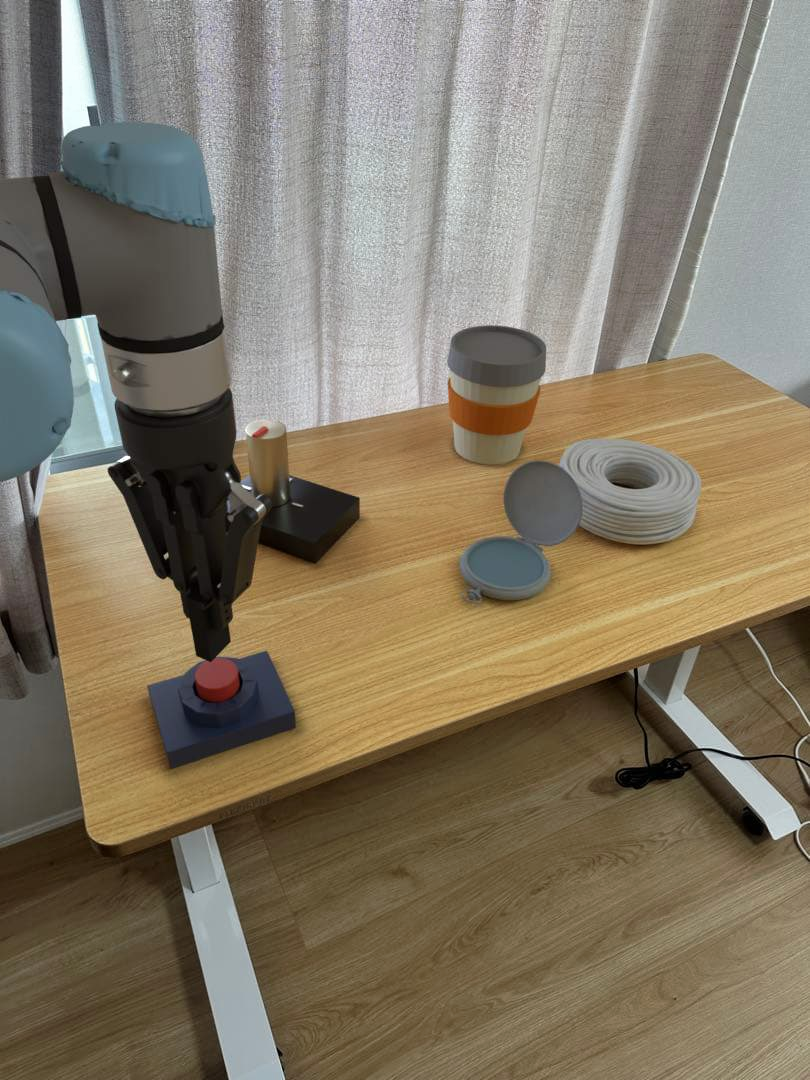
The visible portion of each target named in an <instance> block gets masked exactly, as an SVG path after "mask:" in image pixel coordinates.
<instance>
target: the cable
mask: <svg viewBox="0 0 810 1080" xmlns="http://www.w3.org/2000/svg"><path fill="white" fill-rule="evenodd" d="M558 466H560V467H561V468H563V469H564V470H566V471H567V472H568V473H569V474H570V475H571V476H572V478H573V479H574V481H575V482H576V484H577V486H578V488H579V490H580V493H581V497H582V504H583V509H582V517H581V520H580V523H579V526H578V527H581V528H583V529H584V530H586V531H588V532H590V533H592V534H594V535H596V536H599V537H601V538H603V539H607V540H610V541H613V542H617V543H623V544H629V545H655V544H656V545H657V544H661V543H667V542H670V541H673V540H675V539H677V538H679V537H680V536H682V535H683V534H684V533H686V532H687V531H688V530H689V529H690V528H691V526H692V525H693V523H694V521H695V519H696V514H697V510H698V509H697V508H698V503H699V498H700V493H701V491H702V480H701V477H700V474H699V473H698V471H697V470H696V468H694V466H693V465H692V464H690V463H689V462H687V461H686V460H685V459H683V458H681V457H680V456H678V455H676V454H674V453H672V452H669V451H667V450H665V449H662V448H660V447H657V446H654V445H651V444H648V443H644V442H639V441H635V440H630V439H629V440H628V439H622V438H603V437H602V438H600V437H599V438H588V439H582V440H581V439H580V440H578V441H576V442H573V443H571V444H570V445H568V447H567V448H566V449H565V450H564V451H563V453H562V456H561V458H560V461H559V464H558ZM613 483H614V484H613ZM615 484H619V485H625V486H628V487H632V488H628V487H627V488H626V487H623V486H618V485H615Z"/></svg>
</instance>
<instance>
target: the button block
mask: <svg viewBox="0 0 810 1080" xmlns="http://www.w3.org/2000/svg"><path fill="white" fill-rule="evenodd" d="M216 658H223V659H228V660H230V661H232V662H233V663H234V664H235V665H236V666H237V669H238V676H239V683H240V685H239V689H238V691H237V693H236V694H235V695H234V696H233V697H232V698H230V699H229V700H226V701H223V702H219V703H212V702H207V701H205V700H203V699H202V698H201V697H200V696H199V695H198V692H197V687H196V682H195V672H196V670H197V669H198V667H199V666H200V665H201V664H203V663H204V662H206V661H207V660H204V659H203V660H201V661H198V662H197V663H196V664H194V665H193V666H192V667H191V668H189V669H188V670H186V672H184V674H181V675H179V676H175V677H171V678H168V679H165V680H161V681H158V682H154V683H151V684H147V685H146V686H147V691H148V696H149V700H150V703H151V704H150V705H151V708H152V711H153V715H154V718H155V721H156V725H157V728H158V731H159V735H160V738H161V742H162V746H163V749H164V753H165V756H166V759H167V763H168V767H169V769H170V770H173V769H176V768H180V767H182V766H185V765H189V764H191V763H193V762H197V761H201V760H204V759H206V758H209V757H212V756H215V755H218V754H221V753H224V752H227V751H230V750H234V749H235V748H239V747H242V746H245V745H248V744H252V743H254V742H257V741H260V740H263V739H266V738H270V737H273V736H275V735H278V734H281V733H284V732H288V731H291V730H294V729H296V728H297V720H296V719H297V718H296V710H295V708H294V706H293V704H292V701H291V699H290V697H289V695H288V693H287V691H286V689H285V686H284V685H283V682H282V680H281V678H280V676H279V674H278V671H277V669H276V667H275V665H274V662H273V660H272V658H271V656H270V654H269V652H268V650H264V651H261V652H257V653H254V654H250V655H247V656H243V657H240V658H238V657H229V656H221V655H220V656H219V655H218V656H217V657H216Z"/></svg>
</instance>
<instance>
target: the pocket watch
mask: <svg viewBox="0 0 810 1080" xmlns="http://www.w3.org/2000/svg"><path fill="white" fill-rule="evenodd" d="M502 499H503V508H504V512H505V516H506V518H507V520H508V522H509V524H510V526H511V527H512V528H513V530H514V531H515V532H516V533H517V534H518V535H519V536H516V537H511V536H501V535H500V536H496V535H495V536H489V537H484V538H481V539H479V540H476V541H474V542H472V543H471V544H470V545H469V546H467V548H466V549H465V550H464V551H463V552H462V554H461V556H460V559H459V563H458V567H459V572H460V574H461V576H462V579H463V580H464V582H465V583H466V585H468V586H469V587H470V588H471V589H469V590H468V589H467V590H463V591H461V593H460V595H461V598H462V599H463V600H464V601H466V602H469V603H471V604H480V603H481V602H482V601H483V599H482V595H483V596H485V597H489V598H492V599H496V600H503V601H519V600H526V599H528V598H532V597H534V596H537V595H538V594H540V593H541V592H542V591H543V590H544V589H545V588H547V585H548V584H549V582H550V580H551V577H552V568H551V564H550V562H549V560H548V558H547V557H546V555H545V554H544V553H543V552H544V548H542V547H541V546H543V547H553V546H558V545H560V544H562V543H564V542H566V541H567V540H568V539H570V538H571V537H572V536H573V535H574V534H575V532H576V531H577V529H578V527H580V526H579V523H580V520H581V517H582V509H583V504H582V497H581V493H580V490H579V488H578V486H577V484H576V482H575V481H574V479H573V478H572V476H571V475H570V474H569V473H568V472H567V471H566V470H564V469H563V468H561V467H560V466H559V464H556V463H554V462H552V461H548V460H542V459H541V460H539V459H538V460H537V459H536V460H529V461H526V462H524V463H522V464H521V465H519V466H518V467H516V468H515V469H514V470H513V471H512V472H511V474H510V475H509V476H508V479H507V480H506V483H505V485H504V490H503V498H502ZM464 593H467V594H468V597H467V598H466V597H465V596H464ZM475 600H479V601H475Z"/></svg>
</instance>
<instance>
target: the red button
mask: <svg viewBox="0 0 810 1080" xmlns="http://www.w3.org/2000/svg"><path fill="white" fill-rule="evenodd" d="M195 682H196V687H197V692H198V695H199V696H200V697H201V698H202V699H203V700H205V701H207V702H212V703H219V702H223V701H226V700H229V699H230V698H232V697H233V696H234V695H235V694H236V693H237V691H238V689H239V685H240V683H239V676H238V669H237V666H236V665H235V664H234V663H233V662H232V661H230V660H228V659H223V658H215V659H214V660H213V661H212V662H209V661H206V662H204V663H203V664H201V665H200V666H199V667H198V669H197V670H196V672H195Z"/></svg>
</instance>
